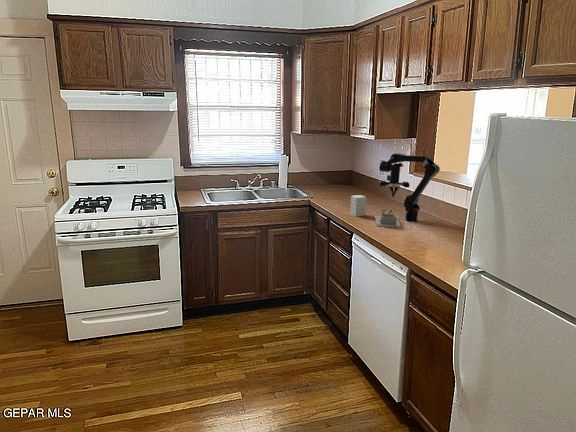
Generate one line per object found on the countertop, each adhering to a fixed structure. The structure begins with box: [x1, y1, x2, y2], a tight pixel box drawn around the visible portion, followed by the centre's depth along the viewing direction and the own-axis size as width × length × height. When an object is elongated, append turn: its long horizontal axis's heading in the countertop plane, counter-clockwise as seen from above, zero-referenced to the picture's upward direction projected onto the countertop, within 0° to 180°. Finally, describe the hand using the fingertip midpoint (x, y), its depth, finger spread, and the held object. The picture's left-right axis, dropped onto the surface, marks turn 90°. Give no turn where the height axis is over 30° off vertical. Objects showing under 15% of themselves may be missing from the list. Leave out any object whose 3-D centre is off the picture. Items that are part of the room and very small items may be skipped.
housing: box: [384, 211, 394, 217], centre depth 268 cm, size 5×5×7 cm
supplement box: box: [349, 194, 367, 217], centre depth 290 cm, size 7×7×13 cm
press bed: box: [374, 215, 401, 228], centre depth 274 cm, size 14×22×6 cm, turn 172°
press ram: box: [381, 209, 395, 217], centre depth 275 cm, size 7×8×5 cm
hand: (392, 196), depth 287 cm, fingers closed
